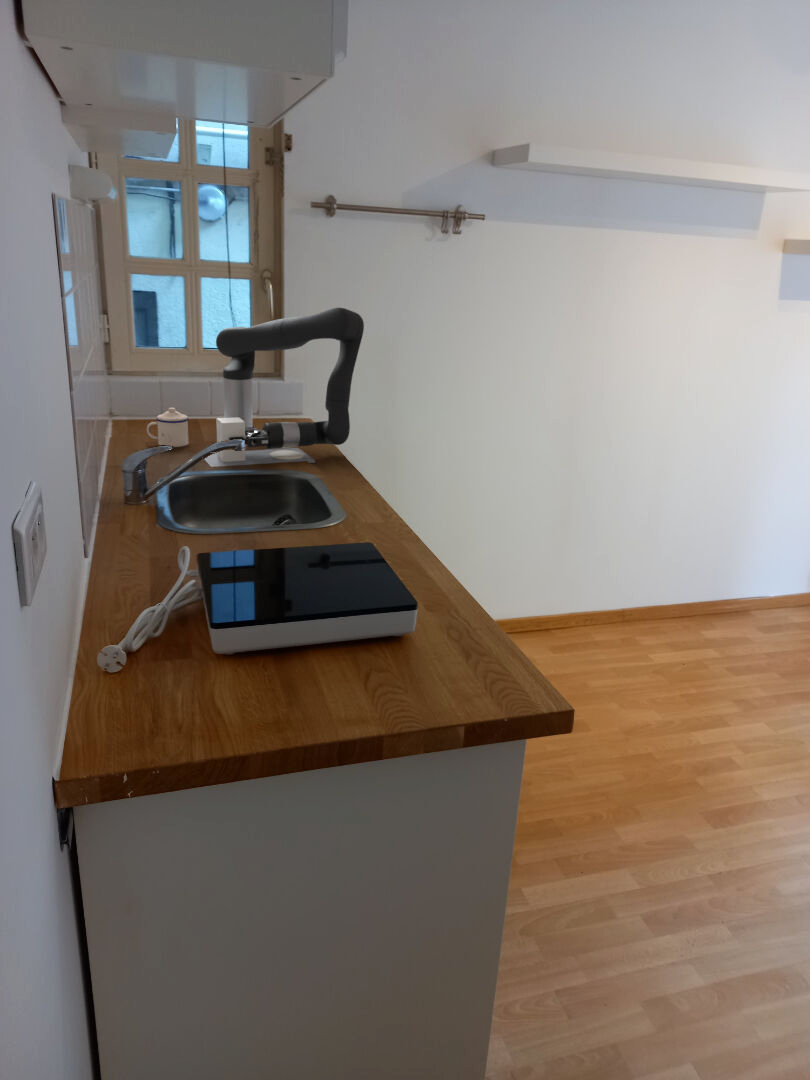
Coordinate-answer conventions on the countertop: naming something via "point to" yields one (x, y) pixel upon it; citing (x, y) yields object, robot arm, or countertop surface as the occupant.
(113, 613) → the countertop surface
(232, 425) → the white tall block
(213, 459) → the board
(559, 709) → the countertop surface
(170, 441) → the teacup with lid
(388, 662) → the countertop surface
